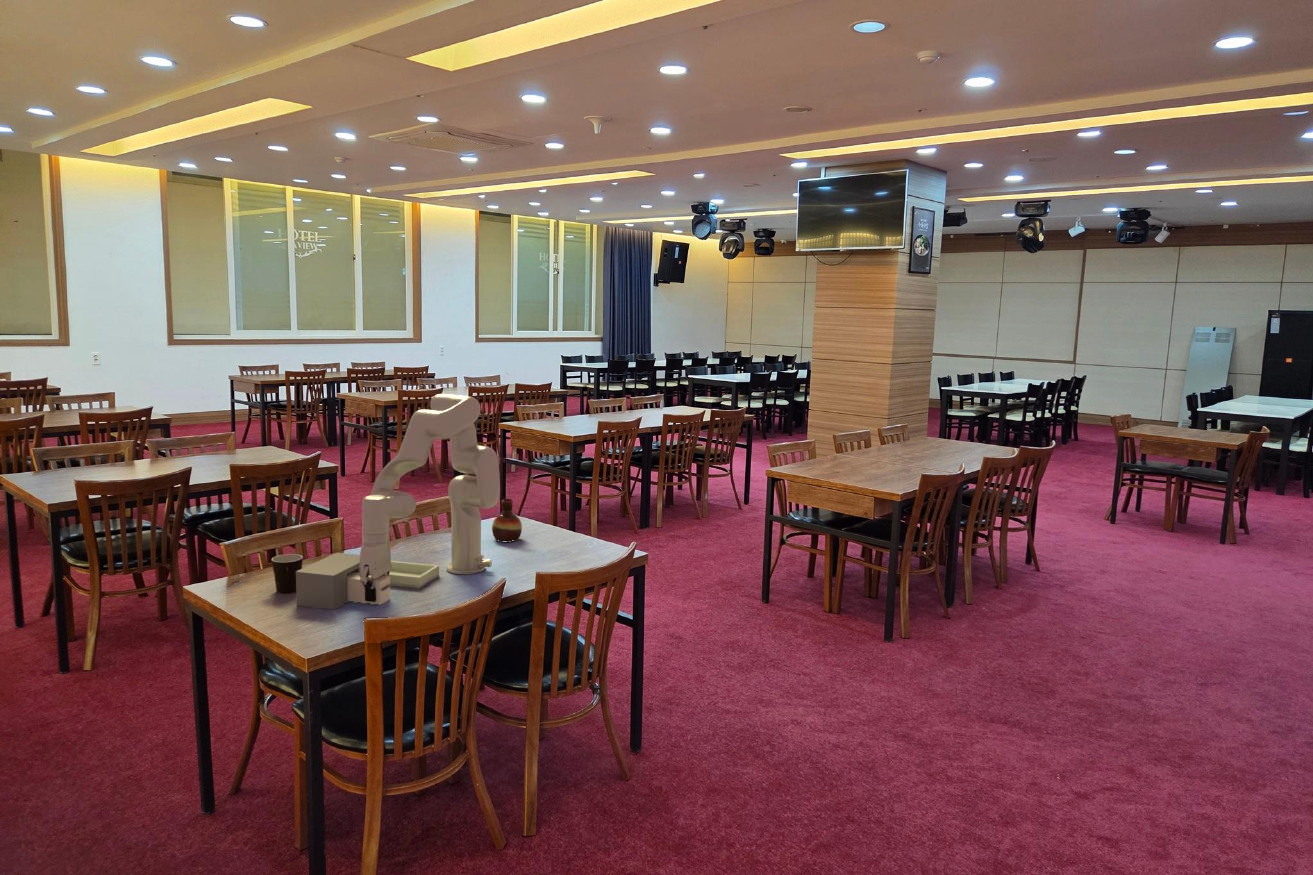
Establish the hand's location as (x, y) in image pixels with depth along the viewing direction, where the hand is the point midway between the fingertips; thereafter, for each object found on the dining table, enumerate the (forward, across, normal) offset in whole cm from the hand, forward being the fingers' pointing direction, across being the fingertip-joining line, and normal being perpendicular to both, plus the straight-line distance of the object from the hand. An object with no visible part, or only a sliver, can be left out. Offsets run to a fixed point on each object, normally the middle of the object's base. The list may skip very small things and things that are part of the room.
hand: (376, 597), depth 243 cm
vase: (+1, -74, +10) cm, 75 cm away
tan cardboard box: (+1, 0, -4) cm, 4 cm away
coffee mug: (+1, +1, -30) cm, 30 cm away
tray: (+1, -20, -5) cm, 21 cm away
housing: (+1, 0, -14) cm, 14 cm away
